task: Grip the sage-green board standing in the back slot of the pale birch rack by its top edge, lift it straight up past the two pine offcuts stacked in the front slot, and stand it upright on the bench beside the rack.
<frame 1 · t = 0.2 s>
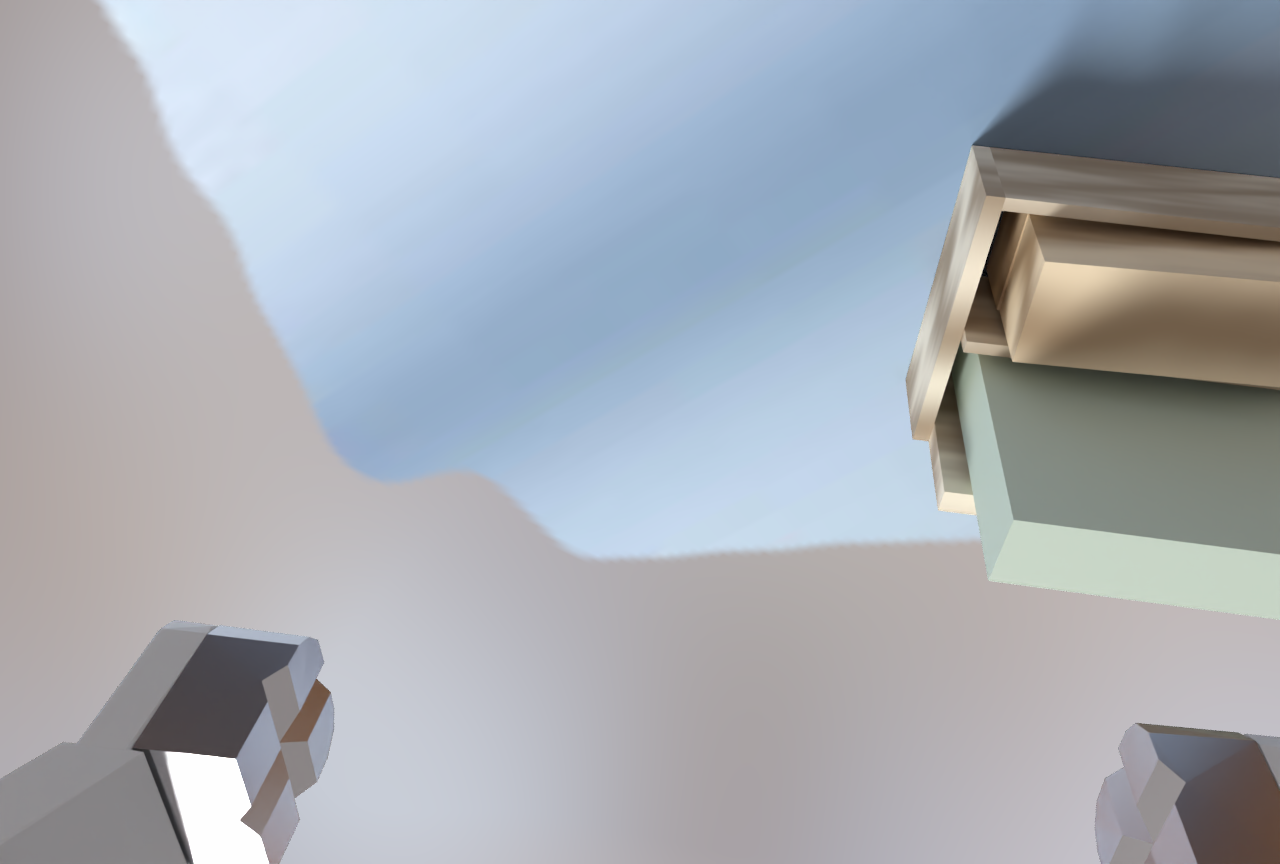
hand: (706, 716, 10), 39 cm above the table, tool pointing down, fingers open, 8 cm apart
lower offcut: (1138, 234, 48), resting in rack, touching upper offcut
sheet: (1095, 342, 52), resting in rack
rack: (1116, 293, 50), on the table
upper offcut: (1163, 277, 45), point 4 cm above the table, touching lower offcut
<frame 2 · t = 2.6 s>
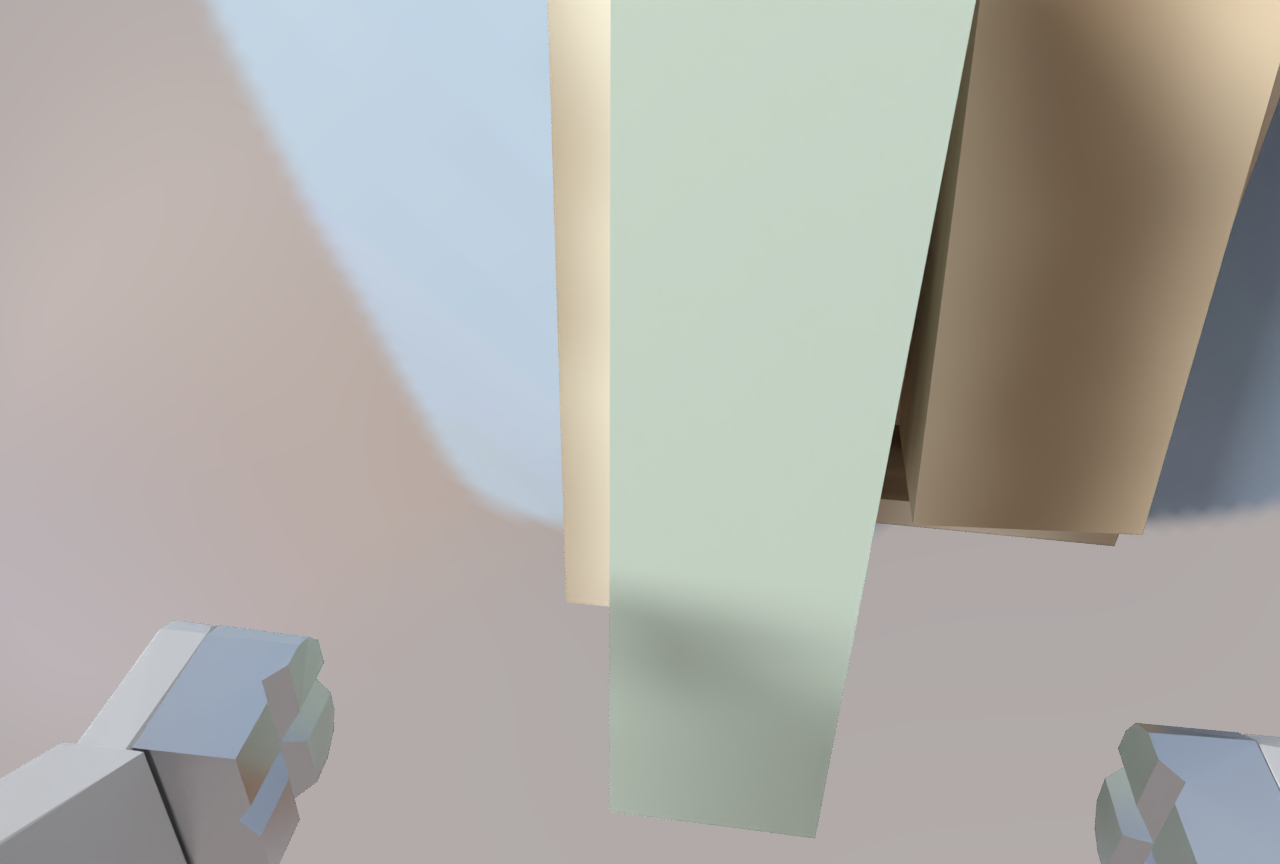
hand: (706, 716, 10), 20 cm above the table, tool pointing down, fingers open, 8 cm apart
sheet: (774, 124, 26), resting in rack
rack: (891, 131, 26), on the table
upper offcut: (1040, 190, 23), point 4 cm above the table
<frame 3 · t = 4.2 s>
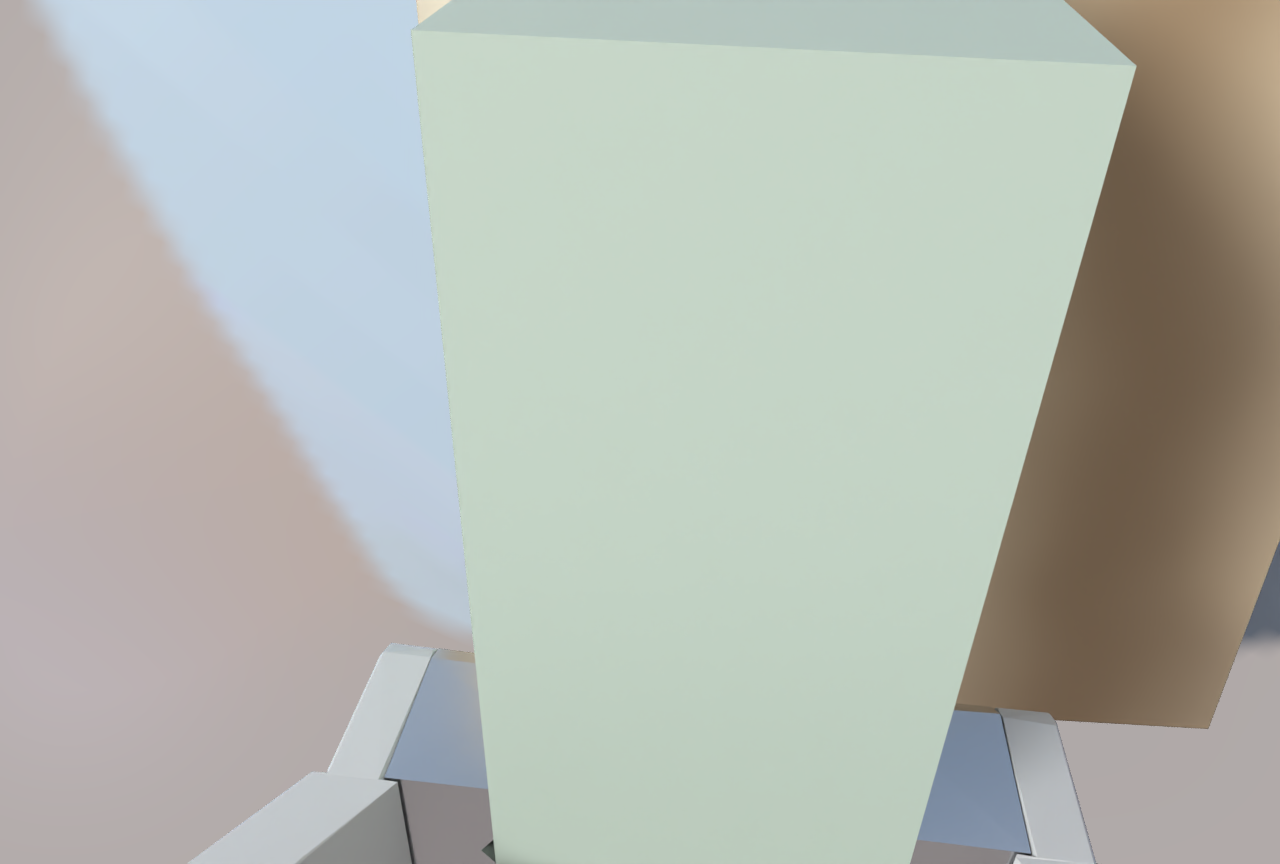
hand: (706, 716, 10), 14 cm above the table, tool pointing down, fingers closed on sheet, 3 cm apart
sheet: (750, 206, 22), resting in rack, touching gripper
rack: (890, 215, 22), on the table
upper offcut: (1078, 307, 19), point 4 cm above the table, touching lower offcut
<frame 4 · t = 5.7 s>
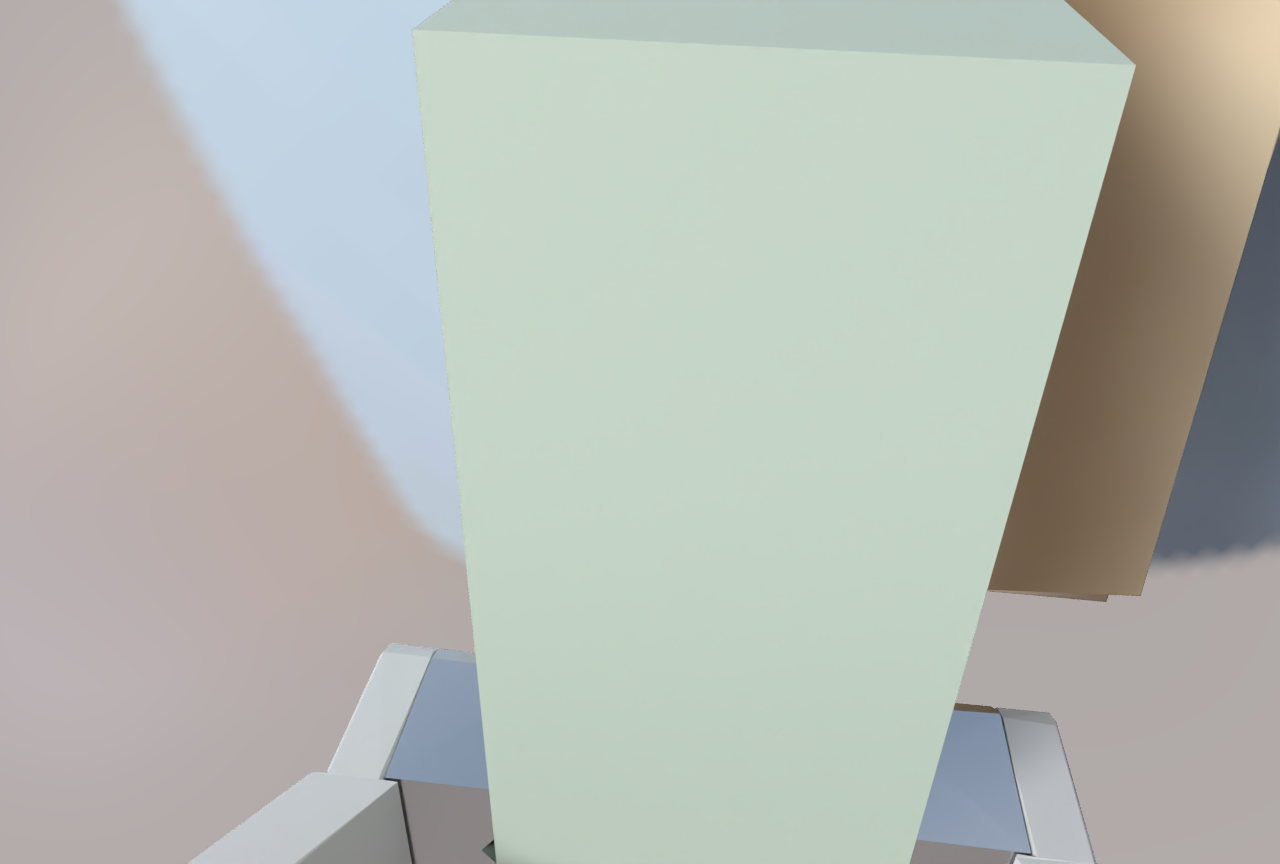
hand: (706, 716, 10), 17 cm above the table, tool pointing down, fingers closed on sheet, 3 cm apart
sheet: (750, 205, 22), point 3 cm above the table, touching gripper
rack: (866, 166, 25), on the table
upper offcut: (1028, 230, 21), point 4 cm above the table, touching lower offcut
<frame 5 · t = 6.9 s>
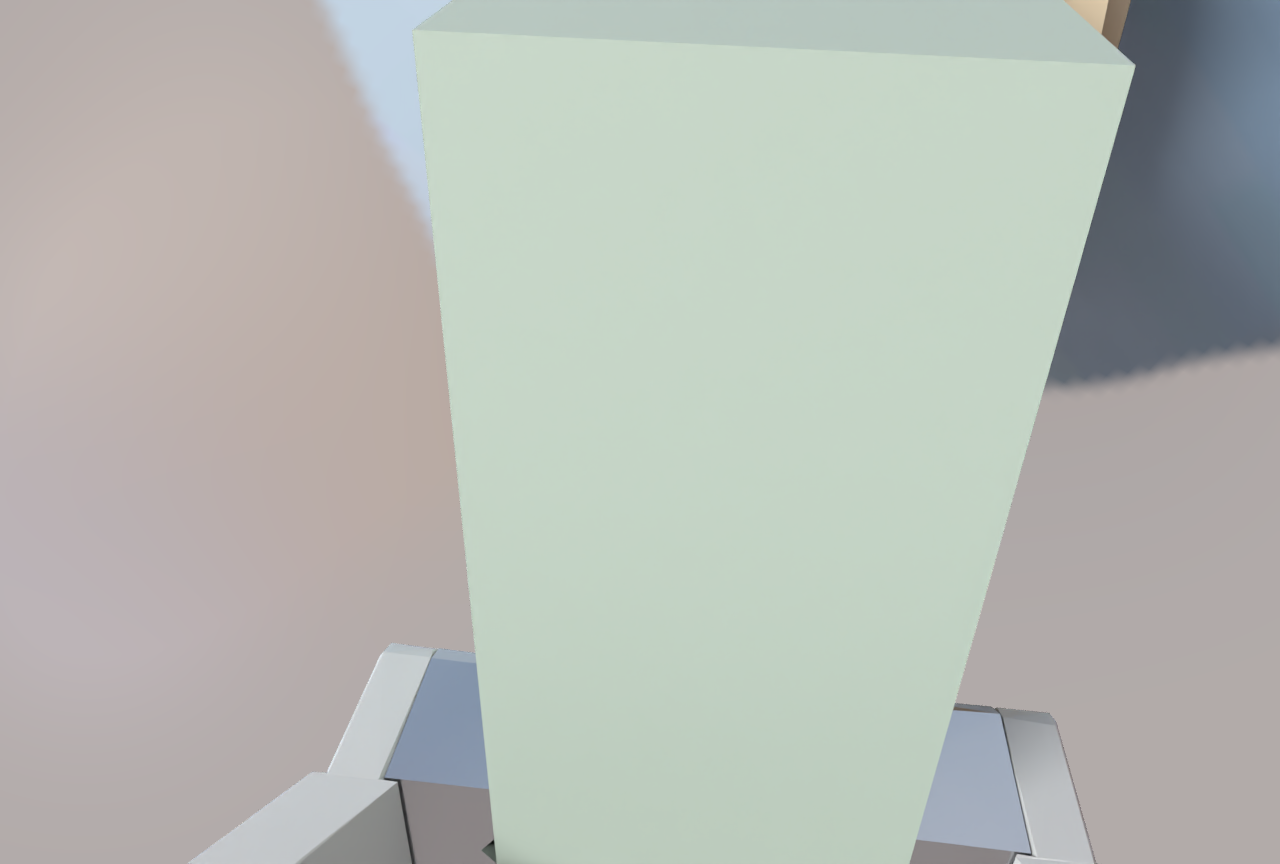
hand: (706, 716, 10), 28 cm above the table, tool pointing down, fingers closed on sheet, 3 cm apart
sheet: (750, 205, 22), point 14 cm above the table, touching gripper
rack: (848, 60, 33), on the table
upper offcut: (957, 96, 30), point 4 cm above the table, touching lower offcut
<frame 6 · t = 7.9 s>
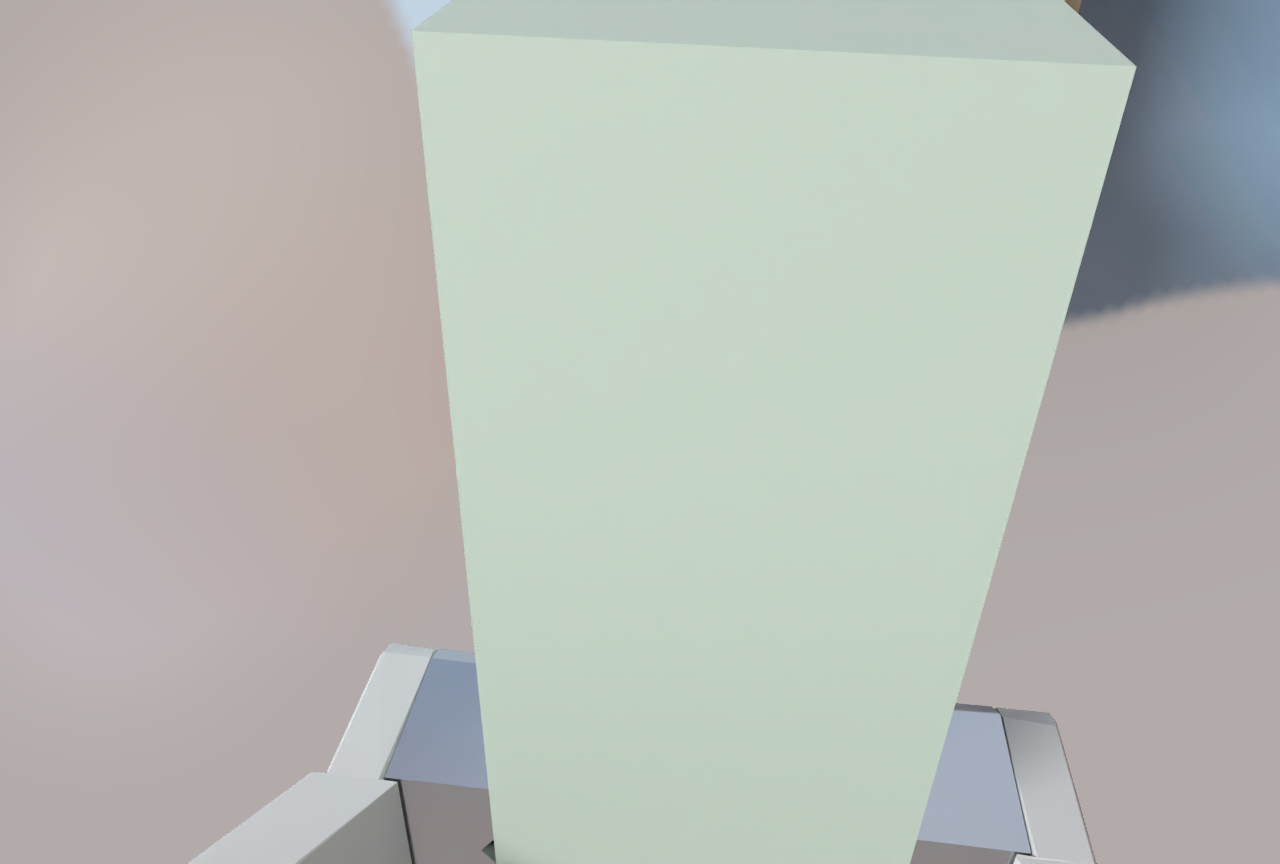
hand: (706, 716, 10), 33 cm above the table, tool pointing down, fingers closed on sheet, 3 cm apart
sheet: (750, 206, 22), point 19 cm above the table, touching gripper
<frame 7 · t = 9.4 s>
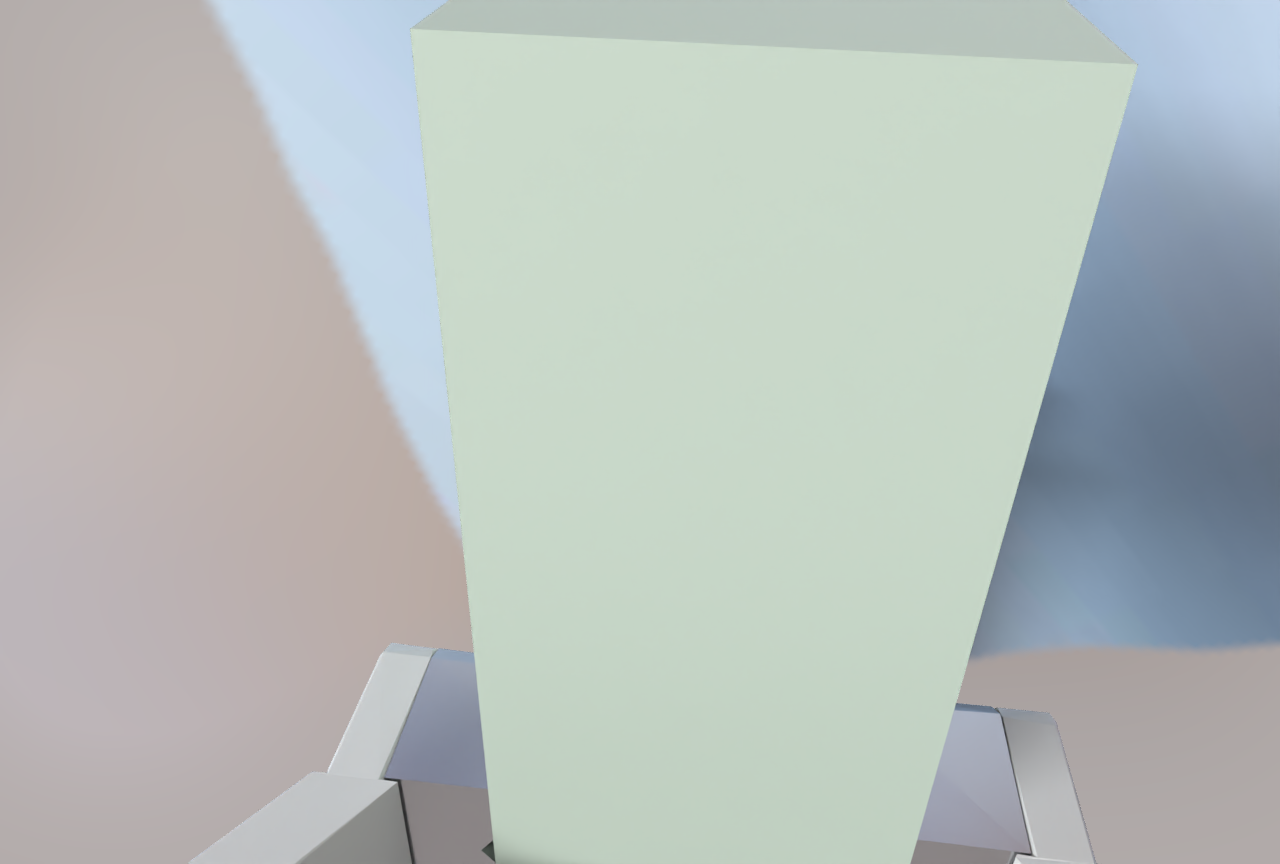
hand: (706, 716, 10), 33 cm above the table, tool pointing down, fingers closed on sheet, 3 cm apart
sheet: (749, 205, 22), point 19 cm above the table, touching gripper
when the fingers open (16 cm above the table, at t = 12.0 s): sheet drops 2 cm, on the table.
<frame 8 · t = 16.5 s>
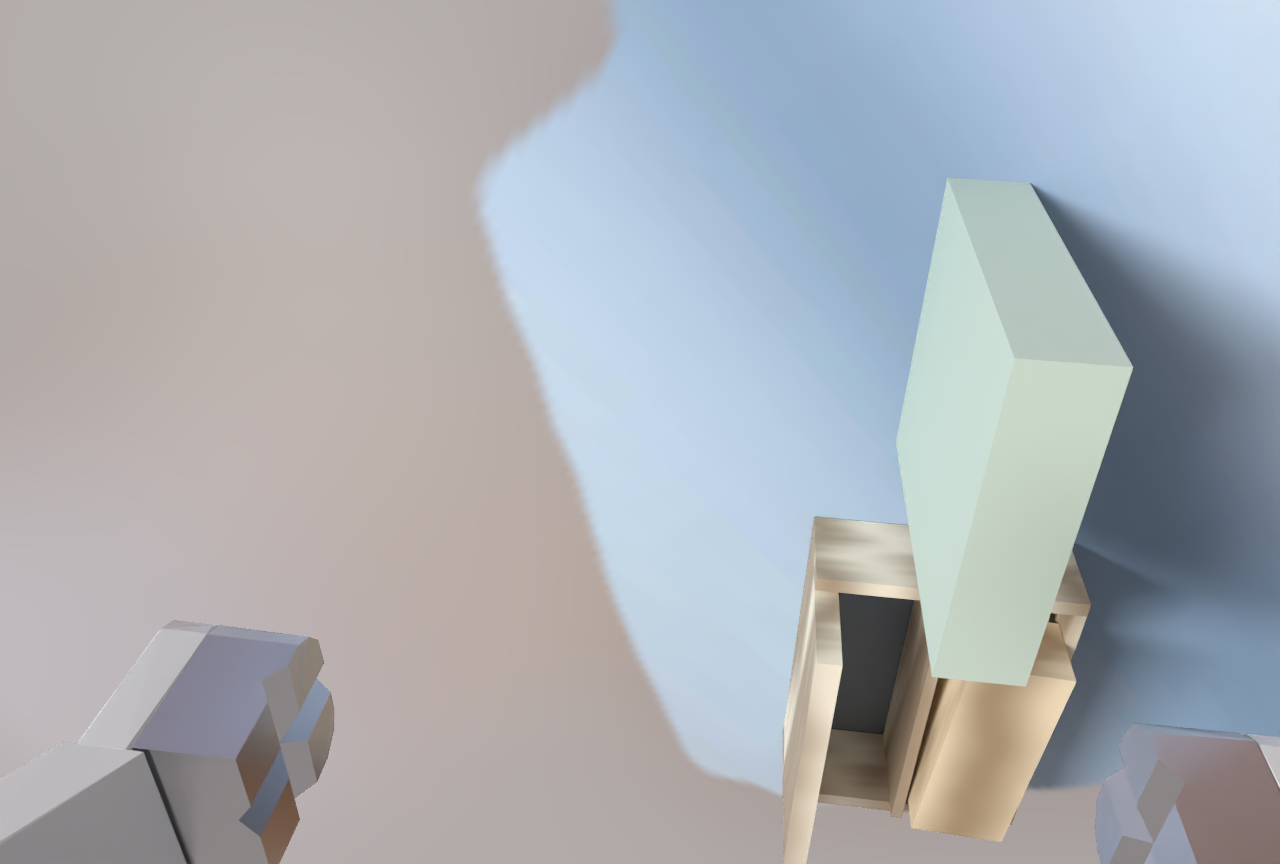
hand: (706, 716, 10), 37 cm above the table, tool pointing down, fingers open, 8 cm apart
sheet: (957, 323, 48), on the table
rack: (912, 644, 59), on the table
upper offcut: (976, 701, 56), point 4 cm above the table, touching lower offcut
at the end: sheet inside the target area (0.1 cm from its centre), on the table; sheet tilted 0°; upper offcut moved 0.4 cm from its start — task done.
